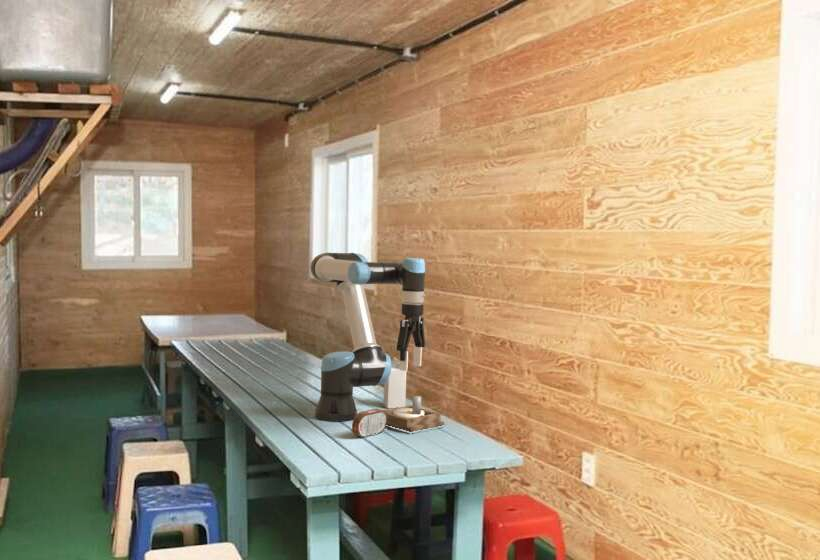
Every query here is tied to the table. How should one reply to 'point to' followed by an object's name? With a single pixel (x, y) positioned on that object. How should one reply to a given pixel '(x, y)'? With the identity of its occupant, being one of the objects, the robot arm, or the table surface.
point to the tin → (369, 422)
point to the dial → (411, 409)
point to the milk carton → (395, 387)
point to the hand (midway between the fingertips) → (410, 368)
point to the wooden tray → (413, 420)
